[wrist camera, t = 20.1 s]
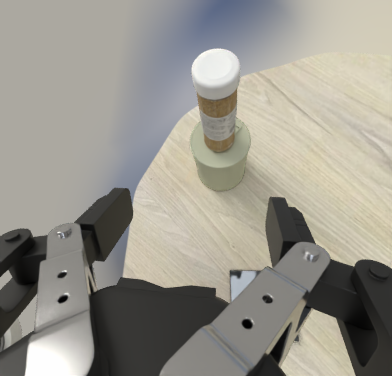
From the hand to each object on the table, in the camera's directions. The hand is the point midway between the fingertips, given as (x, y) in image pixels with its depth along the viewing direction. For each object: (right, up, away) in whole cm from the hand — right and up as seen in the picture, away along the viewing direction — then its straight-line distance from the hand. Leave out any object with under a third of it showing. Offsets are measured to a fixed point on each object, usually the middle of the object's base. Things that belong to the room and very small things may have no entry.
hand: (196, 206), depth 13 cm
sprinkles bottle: (+3, +8, +21) cm, 22 cm away
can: (+5, +5, +32) cm, 33 cm away
